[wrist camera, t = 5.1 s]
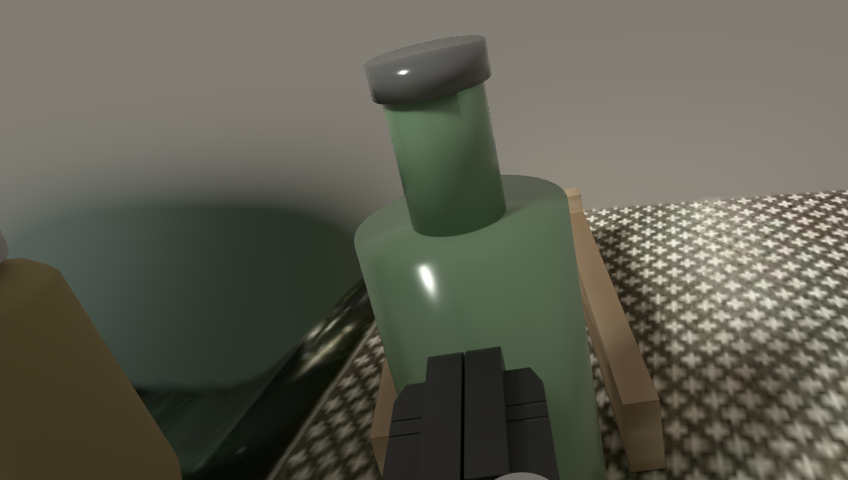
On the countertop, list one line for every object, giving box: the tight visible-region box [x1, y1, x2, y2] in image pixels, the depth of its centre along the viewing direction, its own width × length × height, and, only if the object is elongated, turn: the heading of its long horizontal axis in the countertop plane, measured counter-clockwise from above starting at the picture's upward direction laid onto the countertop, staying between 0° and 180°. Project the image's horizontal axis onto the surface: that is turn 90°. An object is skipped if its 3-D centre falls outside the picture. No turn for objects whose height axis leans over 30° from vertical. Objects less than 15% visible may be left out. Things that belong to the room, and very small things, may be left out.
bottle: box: [354, 35, 607, 480], centre depth 19 cm, size 5×5×16 cm
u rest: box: [369, 187, 666, 477], centre depth 32 cm, size 10×18×4 cm, turn 176°
